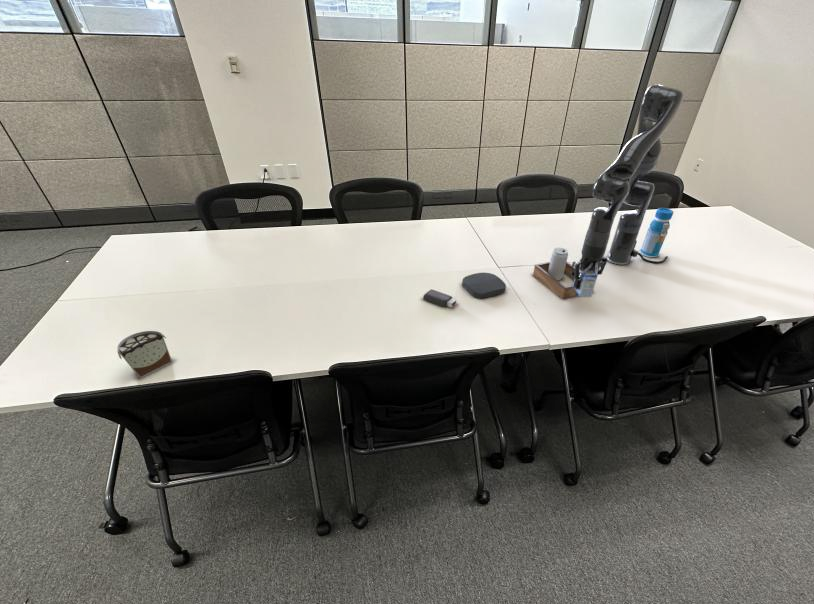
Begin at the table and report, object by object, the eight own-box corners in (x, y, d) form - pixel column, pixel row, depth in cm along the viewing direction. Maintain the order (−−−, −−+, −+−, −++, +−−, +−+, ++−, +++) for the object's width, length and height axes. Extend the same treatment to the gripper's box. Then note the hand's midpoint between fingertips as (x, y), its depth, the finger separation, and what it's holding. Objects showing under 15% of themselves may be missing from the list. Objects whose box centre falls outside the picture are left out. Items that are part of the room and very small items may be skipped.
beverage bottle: (638, 255, 192) (655, 211, 178) (639, 248, 197) (655, 205, 184) (658, 259, 189) (675, 215, 176) (658, 252, 195) (675, 208, 182)
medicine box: (572, 286, 154) (578, 264, 148) (584, 286, 154) (590, 264, 148) (579, 297, 148) (585, 275, 142) (591, 297, 148) (598, 275, 142)
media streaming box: (476, 300, 157) (477, 293, 155) (458, 283, 166) (458, 276, 164) (509, 292, 162) (510, 285, 160) (489, 276, 172) (490, 269, 170)
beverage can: (562, 282, 170) (569, 254, 162) (546, 280, 171) (552, 252, 163) (562, 275, 175) (568, 247, 166) (547, 273, 175) (552, 246, 167)
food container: (166, 351, 128) (151, 324, 121) (177, 359, 125) (163, 332, 119) (124, 372, 120) (106, 344, 113) (135, 381, 118) (117, 353, 111)
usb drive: (430, 293, 159) (430, 287, 158) (457, 303, 155) (457, 296, 153) (423, 299, 156) (423, 293, 154) (450, 309, 152) (450, 302, 150)
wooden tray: (561, 269, 179) (563, 258, 175) (592, 292, 165) (595, 281, 162) (532, 275, 174) (534, 264, 171) (562, 299, 160) (565, 288, 157)
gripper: (586, 249, 134) (573, 295, 145) (620, 243, 138) (605, 288, 150) (571, 240, 138) (560, 285, 150) (605, 234, 143) (592, 278, 155)
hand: (583, 286), depth 150 cm, fingers closed on medicine box, 5 cm apart
